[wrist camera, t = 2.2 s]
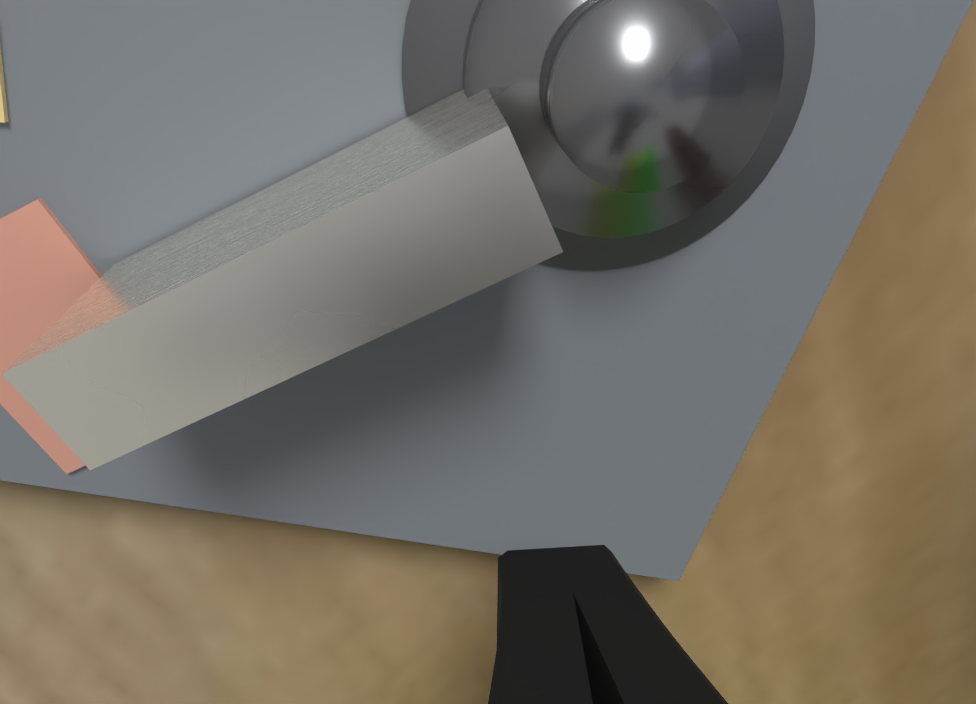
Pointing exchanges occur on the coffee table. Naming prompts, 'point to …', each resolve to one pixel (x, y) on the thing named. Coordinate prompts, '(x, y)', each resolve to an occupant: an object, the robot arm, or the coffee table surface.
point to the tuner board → (463, 324)
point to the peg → (419, 211)
